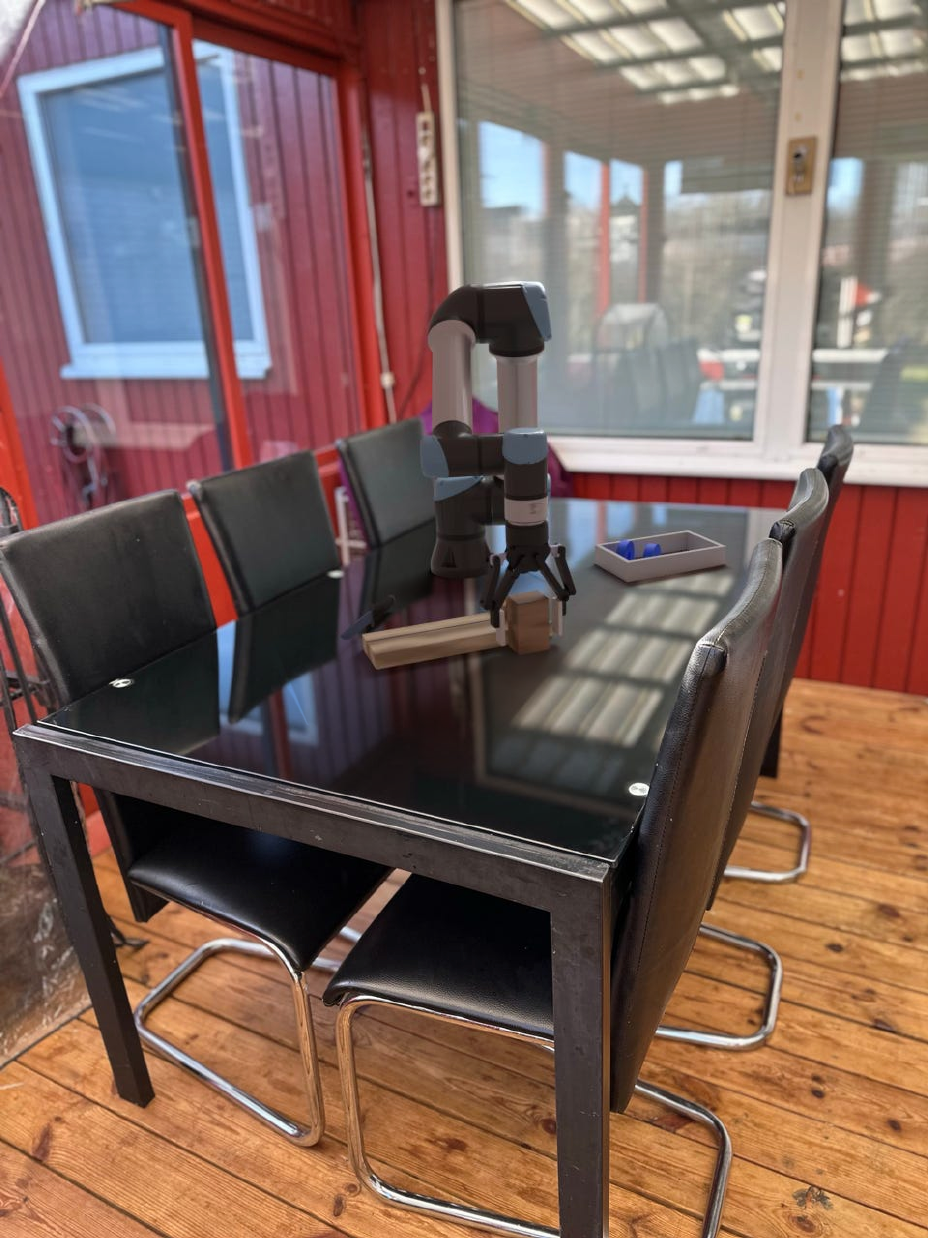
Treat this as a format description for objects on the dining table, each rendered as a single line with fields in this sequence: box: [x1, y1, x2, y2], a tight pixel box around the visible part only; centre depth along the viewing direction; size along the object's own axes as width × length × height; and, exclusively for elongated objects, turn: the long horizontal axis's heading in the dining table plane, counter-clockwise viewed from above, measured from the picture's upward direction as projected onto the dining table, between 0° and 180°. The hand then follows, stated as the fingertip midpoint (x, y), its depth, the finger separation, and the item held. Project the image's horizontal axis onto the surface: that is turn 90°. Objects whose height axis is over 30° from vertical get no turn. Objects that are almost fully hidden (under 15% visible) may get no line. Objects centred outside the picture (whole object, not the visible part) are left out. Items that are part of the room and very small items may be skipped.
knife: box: [339, 594, 396, 641], centre depth 172 cm, size 24×2×5 cm, turn 162°
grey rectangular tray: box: [594, 529, 727, 583], centre depth 202 cm, size 15×25×4 cm, turn 110°
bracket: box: [616, 539, 662, 561], centre depth 204 cm, size 18×8×9 cm, turn 150°
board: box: [361, 611, 553, 670], centre depth 165 cm, size 10×34×3 cm, turn 110°
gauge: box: [501, 589, 551, 656], centre depth 166 cm, size 18×6×10 cm, turn 20°
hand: (529, 637), depth 161 cm, fingers open, 10 cm apart
